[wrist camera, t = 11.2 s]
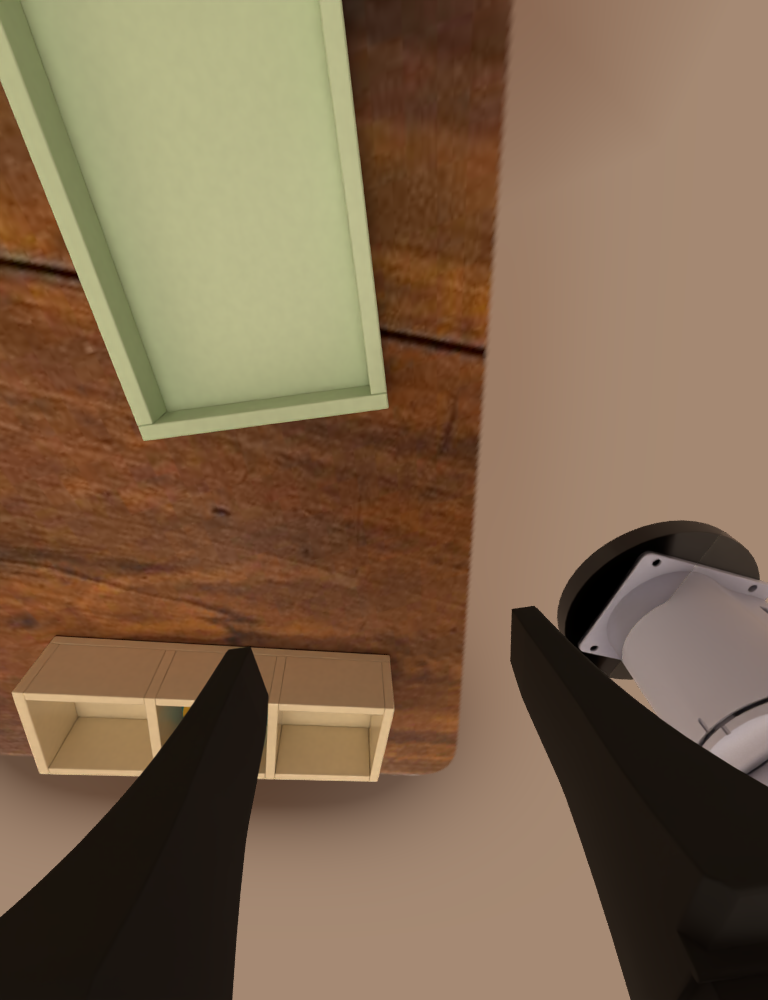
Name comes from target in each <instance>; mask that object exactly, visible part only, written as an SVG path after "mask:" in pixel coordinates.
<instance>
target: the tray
mask: <svg viewBox="0 0 768 1000" xmlns="http://www.w3.org/2000/svg"><path fill="white" fill-rule="evenodd" d="M0 80H1V83H2V85H3V88H4V90H5V93H6V95H7V98H8V101H9V103H10V106H11V108H12V111H13V113H14V116H15V118H16V121H17V123H18V126H19V128H20V131H21V133H22V136H23V138H24V141H25V143H26V146H27V148H28V151H29V153H30V156H31V158H32V161H33V163H34V166H35V169H36V171H37V174H38V176H39V179H40V181H41V184H42V186H43V189H44V191H45V194H46V196H47V199H48V201H49V204H50V206H51V209H52V211H53V214H54V216H55V219H56V221H57V224H58V226H59V229H60V232H61V234H62V237H63V239H64V242H65V244H66V247H67V249H68V252H69V254H70V257H71V259H72V262H73V264H74V267H75V269H76V272H77V274H78V277H79V279H80V282H81V284H82V287H83V289H84V292H85V294H86V297H87V300H88V302H89V305H90V307H91V310H92V312H93V315H94V317H95V320H96V322H97V325H98V327H99V330H100V332H101V335H102V337H103V340H104V342H105V345H106V347H107V350H108V352H109V355H110V357H111V360H112V362H113V365H114V368H115V370H116V373H117V375H118V378H119V380H120V383H121V385H122V388H123V390H124V393H125V395H126V398H127V400H128V403H129V405H130V408H131V410H132V413H133V415H134V418H135V420H136V423H137V425H139V430H140V433H141V435H142V438H143V440H144V441H148V440H155V439H163V438H170V437H178V436H185V435H193V434H200V433H208V432H215V431H223V430H230V429H238V428H245V427H253V426H260V425H268V424H275V423H283V422H290V421H298V420H305V419H313V418H320V417H328V416H335V415H343V414H351V413H358V412H366V411H373V410H381V409H387V408H388V407H389V405H388V396H387V387H386V379H385V370H384V361H383V353H382V344H381V335H380V327H379V318H378V309H377V301H376V292H375V283H374V275H373V266H372V258H371V249H370V240H369V232H368V223H367V214H366V206H365V197H364V188H363V180H362V171H361V162H360V154H359V145H358V136H357V128H356V119H355V110H354V102H353V93H352V84H351V76H350V67H349V58H348V50H347V41H346V32H345V24H344V15H343V6H342V0H0Z"/></svg>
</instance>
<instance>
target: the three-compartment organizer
mask: <svg viewBox="0 0 768 1000" xmlns="http://www.w3.org/2000/svg"><path fill="white" fill-rule="evenodd" d="M235 648H242V647H236V646H218V645H201V644H184V643H166V642H149V641H131V640H114V639H96V638H79V637H61V636H55V637H54V638H53V639H52V641H51V642H50V644H49V645H48V646H47V647H46V648H45V650H44V651H43V652H42V654H41V655H40V656H39V658H38V659H37V660H36V661H35V663H34V664H33V665H32V667H31V668H30V669H29V671H28V672H27V673H26V674H25V676H24V677H23V678H22V680H21V681H20V682H19V684H18V685H17V686H16V687H15V689H14V690H13V691H12V696H13V699H14V702H15V704H16V707H17V710H18V713H19V716H20V719H21V722H22V725H23V727H24V730H25V733H26V736H27V739H28V742H29V745H30V748H31V750H32V753H33V756H34V759H35V762H36V765H37V768H38V770H39V773H40V774H68V775H114V776H140V775H141V773H142V772H143V771H144V770H145V768H146V767H147V766H148V765H149V763H150V762H151V761H152V760H153V758H154V757H155V756H156V754H157V753H158V752H159V750H160V749H161V748H162V746H163V745H164V744H165V742H166V741H167V740H168V738H169V737H170V736H171V734H172V733H173V731H174V730H175V729H176V727H177V726H178V725H179V723H180V722H181V720H182V719H183V710H184V707H191V706H192V704H193V703H194V701H195V700H196V698H197V697H198V695H199V694H200V692H201V691H202V689H203V688H204V686H205V685H206V683H207V681H208V680H209V678H210V677H211V675H212V674H213V672H214V670H215V669H216V667H217V666H218V664H219V663H220V661H221V659H222V658H223V656H224V655H225V653H226V652H227V651H228V650H229V649H235ZM251 649H252V651H253V654H254V657H255V660H256V662H257V665H258V668H259V671H260V673H261V676H262V679H263V681H264V684H265V687H266V690H267V692H268V695H269V699H268V715H267V727H266V736H265V742H264V747H263V752H262V758H261V763H260V768H259V773H258V778H257V779H265V778H266V779H274V778H275V779H284V780H285V779H286V780H328V781H331V780H332V781H370V782H377V781H378V778H379V774H380V769H381V765H382V761H383V757H384V752H385V748H386V744H387V739H388V735H389V731H390V727H391V722H392V718H393V714H394V710H395V707H394V697H393V686H392V675H391V664H390V656H389V655H375V654H358V653H340V652H323V651H306V650H288V649H271V648H253V647H251Z"/></svg>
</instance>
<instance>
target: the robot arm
mask: <svg viewBox="0 0 768 1000" xmlns="http://www.w3.org/2000/svg"><path fill="white" fill-rule="evenodd" d="M655 560H656V561H655ZM654 561H655V562H654ZM767 598H768V583H767V582H764V581H761V580H757V579H753V578H750V577H746V576H742V575H739V574H735V573H731V572H728V571H724V570H720V569H716V568H713V567H709V566H705V565H702V564H698V563H694V562H691V561H687V560H683V559H680V558H676V557H672V556H669V555H665V554H661V553H658V552H654V551H644V552H643V553H641V554H640V555H639V556H638V558H637V559H636V561H635V562H634V564H633V565H632V566H631V568H630V569H629V571H628V572H627V573H626V575H625V576H624V578H623V579H622V581H621V582H620V583H619V585H618V586H617V588H616V589H615V590H614V592H613V593H612V595H611V596H610V598H609V599H608V600H607V602H606V603H605V605H604V606H603V607H602V609H601V610H600V612H599V613H598V615H597V616H596V617H595V619H594V620H593V622H592V623H591V624H590V626H589V627H588V629H587V630H586V632H585V633H584V634H583V636H582V637H581V639H580V640H579V641H578V647H579V649H580V650H581V651H582V652H586V653H591V654H596V655H600V656H605V657H610V658H615V659H619V660H621V661H622V662H623V664H624V665H625V667H626V668H627V670H628V672H629V673H630V675H631V676H632V678H633V679H634V681H635V682H636V684H637V685H638V687H639V688H640V690H641V691H642V693H643V694H644V696H645V697H646V699H647V701H648V702H649V704H650V705H651V706H652V708H653V710H654V711H655V713H656V714H657V715H655V714H654V713H653V712H651V711H650V710H648V709H647V708H646V707H645V706H643V705H642V704H640V703H639V702H638V701H637V700H636V699H634V698H633V697H632V696H630V695H629V694H628V693H627V692H626V691H624V690H623V689H622V688H621V687H620V686H618V685H617V684H616V683H615V682H613V681H612V680H611V679H610V678H609V677H608V676H607V675H605V674H604V673H603V672H602V671H601V670H600V669H599V668H598V667H596V666H595V665H594V664H593V663H592V662H591V661H590V660H589V659H588V658H587V657H586V656H584V655H583V654H582V653H581V652H580V651H579V650H578V649H577V648H576V647H575V646H574V645H573V644H572V643H571V642H570V641H569V640H568V639H567V638H566V637H565V636H564V635H563V634H562V633H561V632H560V631H559V630H558V629H557V628H556V627H555V626H554V625H553V624H552V623H551V622H550V621H549V620H548V619H547V618H546V617H545V616H544V615H543V614H542V613H541V612H540V611H539V610H538V609H537V608H536V607H535V606H530V607H524V608H517V609H512V625H511V658H510V659H511V660H510V661H511V664H512V668H513V671H514V674H515V677H516V680H517V683H518V687H519V690H520V693H521V696H522V698H523V701H524V703H525V705H526V708H527V710H528V712H529V714H530V717H531V719H532V721H533V723H534V726H535V728H536V730H537V732H538V735H539V737H540V739H541V741H542V744H543V746H544V748H545V750H546V752H547V754H548V757H549V759H550V761H551V764H552V766H553V768H554V770H555V773H556V775H557V777H558V779H559V782H560V784H561V787H562V789H563V792H564V794H565V797H566V799H567V802H568V805H569V808H570V811H571V814H572V816H573V819H574V822H575V825H576V828H577V831H578V834H579V837H580V840H581V843H582V846H583V849H584V852H585V855H586V858H587V861H588V864H589V867H590V869H591V873H592V876H593V879H594V882H595V885H596V888H597V891H598V894H599V898H600V901H601V904H602V907H603V910H604V913H605V916H606V920H607V923H608V926H609V929H610V932H611V935H612V938H613V942H614V945H615V949H616V952H617V956H618V959H619V962H620V966H621V969H622V972H623V976H624V979H625V982H626V986H627V989H628V992H629V996H630V999H631V1000H768V603H767V602H766V601H765V600H766V599H767ZM268 699H269V695H268V692H267V690H266V687H265V684H264V681H263V679H262V676H261V673H260V671H259V668H258V665H257V662H256V660H255V657H254V654H253V651H252V649H251V646H249V647H242V648H235V649H229V650H228V651H227V652H226V653H225V655H224V656H223V658H222V659H221V661H220V663H219V664H218V666H217V667H216V669H215V670H214V672H213V674H212V675H211V677H210V678H209V680H208V681H207V683H206V685H205V686H204V688H203V689H202V691H201V692H200V694H199V695H198V697H197V698H196V700H195V701H194V703H193V704H192V706H191V707H190V709H189V710H188V711H187V713H186V714H185V716H184V717H183V719H182V720H181V722H180V723H179V725H178V726H177V727H176V729H175V730H174V731H173V733H172V734H171V736H170V737H169V738H168V740H167V741H166V742H165V744H164V745H163V746H162V748H161V749H160V750H159V752H158V753H157V754H156V756H155V757H154V758H153V760H152V761H151V762H150V763H149V765H148V766H147V767H146V768H145V770H144V771H143V772H142V773H141V775H140V776H139V777H138V778H137V780H136V781H135V782H134V783H133V784H132V786H131V787H130V788H129V789H128V790H127V791H126V793H125V794H124V795H123V796H122V797H121V798H120V800H119V801H118V802H117V803H116V804H115V805H114V806H113V807H112V808H111V809H110V811H109V812H108V813H107V814H106V815H105V816H104V817H103V818H102V819H101V821H100V822H99V823H98V824H97V825H96V826H95V827H94V828H93V829H92V830H91V831H90V832H89V833H88V834H87V836H85V838H84V839H83V840H82V841H81V842H80V843H79V844H78V845H77V846H76V847H75V848H74V849H73V850H72V851H71V852H70V853H69V854H68V855H67V856H66V857H65V858H64V859H63V860H62V861H61V862H60V863H59V864H58V865H57V866H55V867H54V868H53V869H52V870H51V871H50V872H49V873H48V874H47V875H46V876H45V877H44V878H43V879H42V880H41V881H40V882H39V883H38V884H37V885H36V886H35V887H33V888H32V889H31V890H30V891H29V892H28V893H27V894H26V895H25V896H24V897H23V898H22V899H21V900H19V901H18V902H17V903H16V904H15V905H14V906H13V907H12V908H10V909H9V910H8V911H7V912H6V913H5V914H3V915H2V916H1V917H0V1000H232V995H233V994H232V993H233V980H234V966H235V952H236V937H237V925H238V915H239V903H240V891H241V882H242V872H243V863H244V853H245V844H246V837H247V831H248V824H249V819H250V814H251V809H252V803H253V799H254V794H255V789H256V784H257V778H258V773H259V768H260V763H261V758H262V752H263V747H264V742H265V736H266V727H267V715H268Z"/></svg>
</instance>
